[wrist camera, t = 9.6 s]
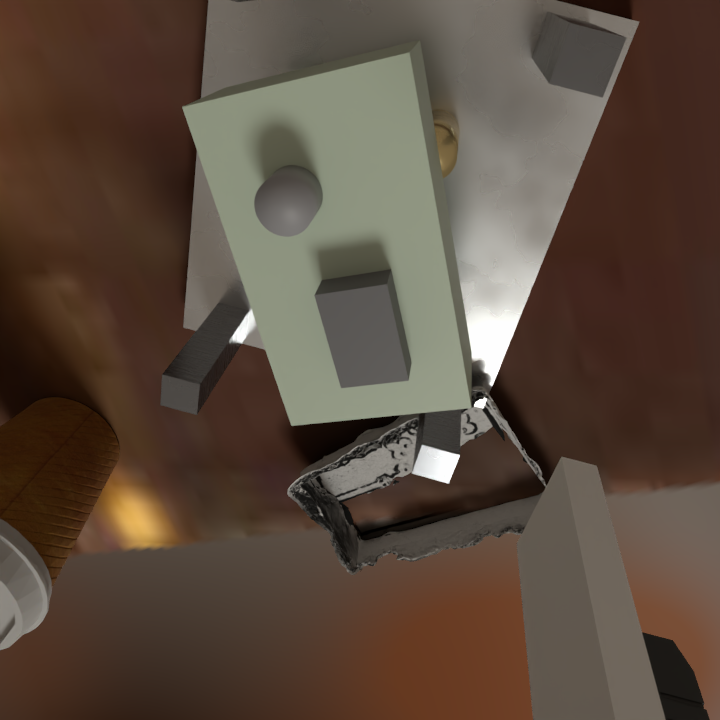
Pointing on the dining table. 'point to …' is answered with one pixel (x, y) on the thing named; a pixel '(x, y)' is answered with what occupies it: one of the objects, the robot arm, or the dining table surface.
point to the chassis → (456, 151)
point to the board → (342, 234)
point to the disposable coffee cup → (46, 501)
